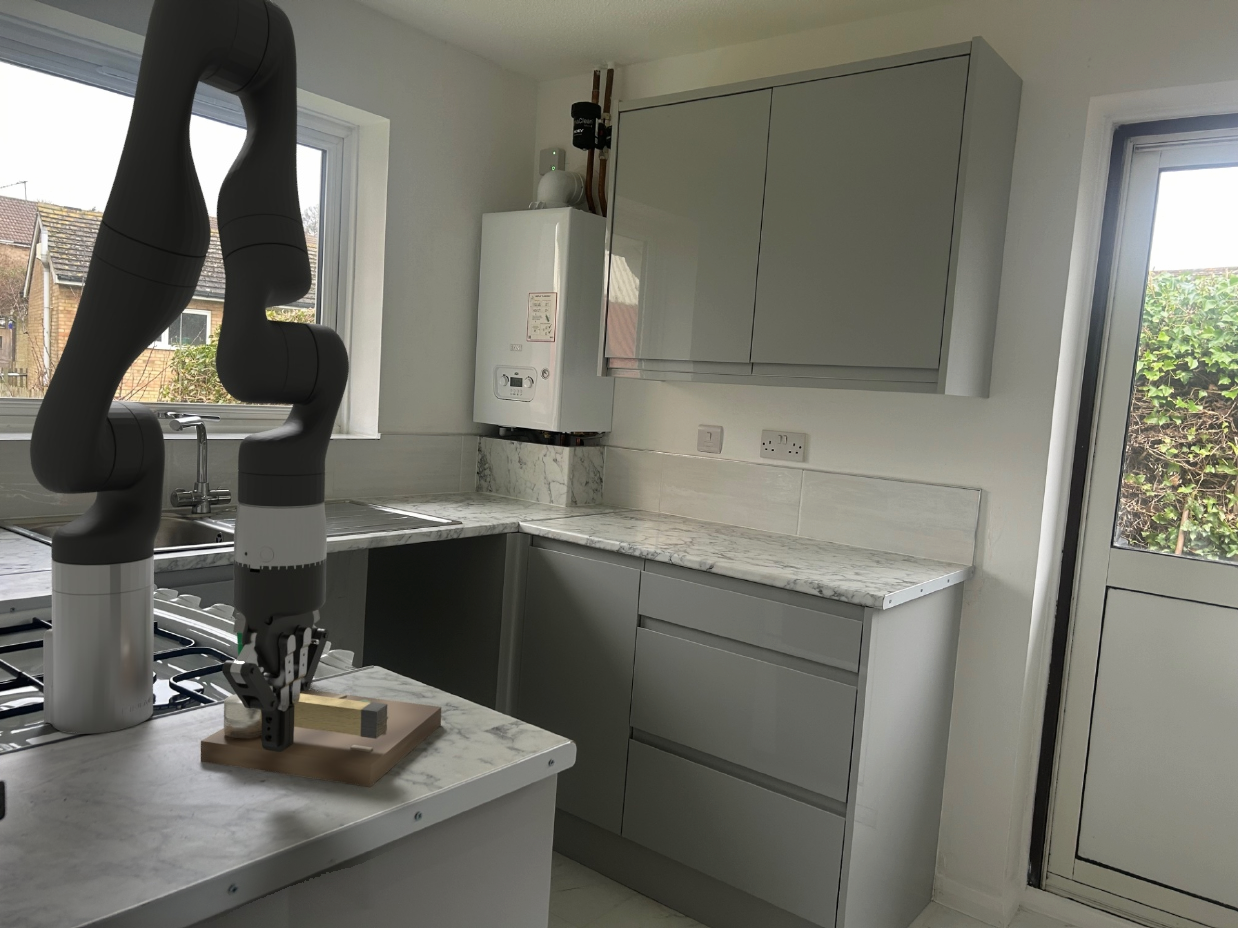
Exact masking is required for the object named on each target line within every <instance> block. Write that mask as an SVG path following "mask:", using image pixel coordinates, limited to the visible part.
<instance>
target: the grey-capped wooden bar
mask: <svg viewBox="0 0 1238 928" xmlns="http://www.w3.org/2000/svg"><path fill="white" fill-rule="evenodd" d="M261 725H262V713H261V710H260V709H255V708H252V709H251V708H245V706H244V705H243V703H242V702H241V700H240V699H239V697H238V696H237V694H236V693H235V694H232V695H230V696H227V697H226V698H225V699H224V701H223V728H224V734H225V735H227V736H229V737H233V738H252V737H257V736H261V735H262V734H261V730H262V729H261ZM294 727H300V728H307V729H314V730H322V731H329V732H336V733H343V734H351V735H358V736H360V737H367V738H374V739H377V738H378V737H379V736H381V735H382V734H383V733H384V732H386V731H387V704H383V703H375V702H371V703H370V702H362V701H354V700H346V699H339V698H331V697H323V696H316V695H308V694H300V698H299V701H298V703H297V704H296V705H295V708H294Z"/></svg>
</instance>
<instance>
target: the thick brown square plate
mask: <svg viewBox="0 0 1238 928" xmlns="http://www.w3.org/2000/svg"><path fill="white" fill-rule="evenodd" d="M300 694H308V695H316V696H323V697H331V698H339V699H346V700H354V701H362V702H370V703H371V702H375V703H383V704H387V731H386V732H384V733H383V734H382V735H381V736H379V737H378V738H377V739H374V738H367V737H360V736H358V735H351V734H343V733H336V732H329V731H322V730H314V729H307V728H300V727H294V742H293V744H292V745H291V746H290V747H288V748H286V749H285V750H283V751H282V752H276V751H269V750H265V749H264V748H263V747H262V742H261V736H257V737H252V738H233V737H229V736H227V735H225V734H224V727H223V728H221V729H219V730H217V731H216V732H214V733H213V734H210V735H209V736H207V737H206V738H204V739H201V740H200V762H203V763H210V764H216V765H223V766H230V767H235V768H242V769H243V768H244V769H249V770H255V771H261V772H262V771H263V772H268V773H269V772H270V773H275V774H282V775H283V774H284V775H287V776H288V775H289V776H297V777H301V778H302V777H303V778H309V779H315V780H317V779H318V780H323V781H330V782H335V783H343V784H349V785H355V786H356V785H357V786H363V787H369V788H370V787H372V786H373V785H374V784H375V783H377V781H379V780H380V779H381V778H382V777H383V776H385V774H386V773H388V772H389V771H390V770H392V768H393V767H395V766H396V765H397V764H398V763H399V762H401V761H402V760H403V759H404V758H405V757H407V755H408V754H409V753H410V752H412V751H413V750H414V749H415V748H416V747H417V746H419V745H420V744H421V743H422V742H423V741H424V740H425V739H426V738H428V737H429V736H430V735H431V734H432V733H433V732H435V730H437V729H439V727H440V726H441V725H442V706H436V705H428V704H422V703H414V702H413V703H412V702H405V701H399V700H392V699H391V700H390V699H383V698H381V699H380V698H375V697H374V698H373V697H366V696H360V695H359V696H358V695H352V694H350V695H349V694H344V693H336V692H328V691H322V690H321V691H319V690H313V689H309V690H308V691H302V692H301V693H300Z"/></svg>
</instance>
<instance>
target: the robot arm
mask: <svg viewBox="0 0 1238 928" xmlns="http://www.w3.org/2000/svg"><path fill="white" fill-rule="evenodd" d="M148 18H149V19H148V24H147V27H146V34H145V39H144V44H143V47H142V48H143V49H142V53H141V59H140V67H139V71H138V75H137V81H136V88H135V93H134V98H133V104H132V110H131V115H130V119H129V124H128V129H127V132H126V136H125V140H124V144H123V147H122V151H121V155H120V158H119V162H118V165H117V169H116V173H115V175H114V178H113V179H114V180H113V183H112V186H111V190H110V191H109V195H108V199H107V200H106V205H105V206H104V207H105V208H104V211H103V214H102V216H101V221H100V224H99V228H98V231H97V234H96V239H95V242H94V244H93V249H92V253H91V257H90V259H89V260H90V261H89V265H88V269H87V274H86V278H85V281H84V285H83V288H82V292H81V296H80V299H79V302H78V304H77V305H78V306H77V310H76V313H75V316H74V318H73V322H72V323H71V324H72V325H71V328H70V331H69V333H68V336H67V339H66V343H65V346H64V347H63V351H62V353H61V356H60V358H59V360H58V363H57V365H56V367H55V370H54V373H53V375H52V376H51V379H50V382H49V384H48V386H47V389H46V392H45V394H44V397H43V399H42V401H41V404H40V406H39V409H38V411H37V414H36V418H35V420H34V424H33V428H32V432H31V436H30V445H29V446H30V447H29V455H30V456H29V459H30V465H31V469H32V472H33V475H34V477H35V479H36V481H37V482H38V483H39V484H40V485H41V486H42V487H43V488H44V489H46V490H48V491H49V492H52V493H55V494H62V495H63V494H66V495H69V494H70V495H74V494H75V495H76V494H77V495H78V494H90V493H92V494H93V493H96V497H95V500H94V502H93V503H92V505H91V506H90V507H89V508H88V509H87V510H86V511H85V512H84V513H83V514H82V515H80V516H78V517H77V518H75V519H74V520H72V521H69V522H68V523H66V524H64V525H62V526H61V527H59V528H57V529H56V530H55V532H54V533H53V534H52V537H51V545H50V546H51V549H50V550H51V553H50V554H51V555H50V556H51V628H49V629H47V630H45V632H44V633H43V638H42V639H43V642H42V643H43V645H42V646H43V660H42V661H43V666H42V667H43V722H44V723H49V724H51V725H52V727H53V728H54V729H56V730H58V731H61V732H64V733H68V734H82V735H84V734H86V735H87V734H101V733H108V732H109V733H110V732H114V731H115V732H116V731H119V730H125V729H127V728H130V727H135V726H137V725H139V724H141V723H143V722H145V721H146V720H148V719H149V718H151V717H152V716H153V713H154V634H155V633H154V630H155V629H154V627H155V626H154V625H155V624H154V623H155V622H154V621H155V620H154V613H155V611H154V609H155V608H154V605H155V603H154V601H155V600H154V598H155V597H154V596H155V594H154V593H155V590H154V588H155V582H154V581H155V580H154V579H155V577H154V575H155V573H154V571H155V569H154V568H155V563H154V562H155V560H154V559H155V554H154V553H155V542H156V541H155V540H156V537H157V536H158V533H159V531H160V527H161V523H162V516H163V515H162V513H163V511H162V510H163V497H164V496H163V495H164V483H165V482H164V480H165V465H166V463H165V462H166V447H165V438H164V432H163V428H162V425H161V423H160V421H159V419H158V417H157V416H156V413H154V411H153V410H152V409H150V407H148V406H146V404H142V403H140V402H135V401H114V398H115V395H116V394H117V393H116V392H117V391H118V388H119V386H120V384H121V382H122V380H123V378H124V376H125V375H126V374H127V372H128V370H129V369H130V368H131V367H132V365H133V364H134V363H135V362H136V360H137V359H138V358H139V357H140V356H141V355H143V353H144V352H145V351H146V350H147V349H148V348H149V347H150V346H151V345H152V344H153V343H155V341H156V340H157V339H158V338H160V336H161V335H163V333H164V332H166V330H168V328H170V327H171V325H173V323H174V322H175V321H176V320H177V319H178V318H179V317H180V316H181V315H182V314H183V312H184V311H185V310H186V309H187V307H188V306H189V304H190V303H191V301H192V299H193V298H194V295H195V292H196V289H197V287H198V284H199V281H200V278H201V274H202V271H203V268H204V265H205V261H206V259H207V254H208V253H209V249H210V245H211V239H212V236H211V235H212V234H211V233H212V230H211V221H210V217H209V212H208V207H207V203H206V199H205V196H204V192H203V188H202V186H201V183H200V179H199V176H198V172H197V169H196V165H195V162H194V158H193V152H192V147H191V133H190V130H191V129H190V128H191V119H192V112H193V104H194V99H195V96H196V92H197V88H198V84H199V82H200V83H202V84H205V85H207V86H210V87H212V88H215V89H218V90H220V91H223V92H225V93H228V94H231V95H234V96H236V97H238V98H239V100H240V101H239V102H240V103H241V107H242V109H243V114H244V118H245V122H246V135H245V139H244V142H243V144H242V146H241V149H240V150H239V152H238V154H237V156H236V157H235V159H234V160H233V162H232V164H231V166H230V167H229V169H228V171H227V173H226V175H225V177H224V179H223V180H222V183H221V186H220V188H219V192H218V196H217V203H216V224H217V225H216V226H217V230H218V231H217V233H218V236H219V244H220V251H221V256H222V264H223V270H224V277H225V278H224V280H225V282H224V283H225V285H224V297H223V298H224V299H223V307H222V308H223V309H222V316H221V317H222V319H221V324H220V328H219V329H220V330H219V334H218V341H217V346H216V353H215V354H216V355H215V370H216V374H217V378H218V380H219V382H220V384H221V385H222V387H223V388H224V389H225V391H226V392H227V394H228V395H229V396H231V397H232V398H233V399H235V400H236V401H239V402H241V403H245V404H253V405H254V404H259V405H260V404H261V405H264V404H265V405H270V404H271V405H275V404H277V405H292V406H291V410H290V411H289V414H288V416H287V418H286V419H285V421H284V423H282V425H280V426H279V427H275V428H272V429H270V430H264V431H259V432H256V433H252V434H249V435H248V436H245V437H244V438H243V439H242V441H241V442H240V444H239V447H238V448H239V449H238V457H237V458H238V459H237V471H238V472H237V509H236V514H235V515H236V516H235V521H234V527H233V528H234V530H233V585H232V587H233V589H232V590H233V591H232V592H233V593H232V594H233V595H232V596H233V597H232V598H233V599H232V601H233V604H232V605H233V607H234V609H235V610H236V611H237V612H240V614H243V615H244V617H245V626H244V630H243V633H242V638H241V642H242V645H243V647H244V648H243V649H242V651H241V653H240V654H239V656H238V655H237V658H236V659H235V660H230V659H227V660H225V662H223V665H222V670H221V671H222V674H223V676H224V677H225V679H226V681H227V682H228V684H229V685H230V686H231V688H232V690H233V691H234V693H235V694H237V696H238V697H239V699H240V700H241V702H242V703H243V705H244V706H245V708H251V709H252V708H255V709H260V710H261V713H262V725H261V729H262V730H261V734H262V735H261V742H262V747H263V748H264V749H265V750H269V751H276V752H282V751H283V750H285V749H286V748H288V747H290V746H291V745H292V744H293V742H294V708H295V705H296V704H297V703H298V701H299V698H300V693H301V692H302V691H308V690H310V688H311V685H312V682H313V681H314V677H315V674H316V673H317V670H318V666H319V664H320V660H321V659H322V656H323V652H324V649H325V647H326V645H327V642H328V638H329V633H330V632H329V630H328V629H327V628H320V627H317V626H316V625H315V623H314V614H313V611H316V610H318V611H319V609H321V608H322V607H323V606H325V604H326V593H327V592H326V591H327V588H326V587H327V584H326V583H327V579H326V578H327V546H328V543H327V541H328V540H327V538H328V531H327V529H328V527H327V517H326V511H325V510H326V509H325V505H326V504H325V500H326V499H325V498H326V497H325V493H326V491H325V490H326V457H327V452H328V449H329V445H330V441H331V438H332V434H333V430H334V427H335V423H336V422H335V421H336V419H337V416H338V412H339V409H340V407H341V404H342V400H343V397H344V394H345V390H346V388H347V384H348V380H349V372H350V361H349V354H348V351H347V348H346V345H345V343H344V341H343V340H342V337H340V335H339V333H337V332H336V331H335V330H334V329H333V328H332V327H329V326H328V325H327V326H326V325H324V324H319V323H310V322H309V323H307V322H297V321H296V322H295V321H288V320H287V321H285V320H272V319H268V316H267V311H266V308H267V309H268V308H274V307H280V306H286V305H289V304H293V303H295V302H298V301H300V300H302V299H304V297H306V296H307V295H308V294H309V292H310V291H311V288H312V283H313V277H312V276H313V275H312V267H311V262H310V261H311V260H310V258H309V257H310V256H309V250H308V249H309V248H308V244H307V239H306V233H305V228H304V223H303V217H302V212H301V205H300V196H299V188H298V187H299V186H298V185H299V184H298V168H297V167H298V166H297V164H298V163H297V161H298V160H297V159H298V158H297V153H298V151H297V150H298V147H297V146H298V99H297V98H298V90H297V89H298V79H297V78H298V76H297V74H298V73H297V69H298V68H297V65H298V64H297V50H296V47H297V46H296V40H295V35H294V30H293V27H292V23H291V21H290V18H289V17H288V15H287V14H286V12H285V10H283V8H281V7H280V6H279V5H278V4H276V3H275V2H273V1H272V0H154V1H153V4H152V7H151V12H150V15H149V17H148Z"/></svg>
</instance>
